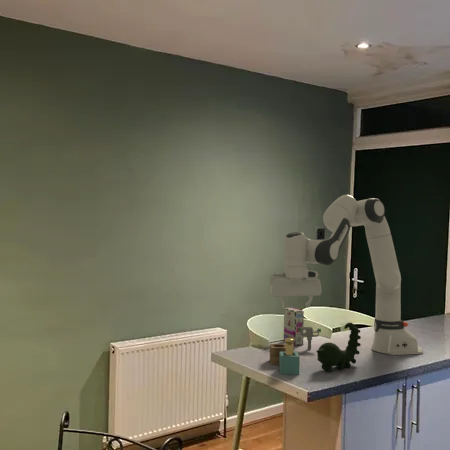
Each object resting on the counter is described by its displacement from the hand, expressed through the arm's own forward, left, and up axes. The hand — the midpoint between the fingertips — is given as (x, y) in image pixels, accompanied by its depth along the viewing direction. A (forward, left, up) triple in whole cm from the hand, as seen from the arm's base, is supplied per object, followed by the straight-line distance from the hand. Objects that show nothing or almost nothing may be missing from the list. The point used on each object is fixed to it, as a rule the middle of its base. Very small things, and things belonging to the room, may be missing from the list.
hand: (296, 307), depth 214 cm
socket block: (+3, +2, -25) cm, 26 cm away
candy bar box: (-4, -45, -26) cm, 52 cm away
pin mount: (+6, -11, -25) cm, 28 cm away
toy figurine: (-17, -4, -26) cm, 31 cm away
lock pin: (+3, +2, -25) cm, 26 cm away
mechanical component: (-10, -33, -26) cm, 43 cm away
